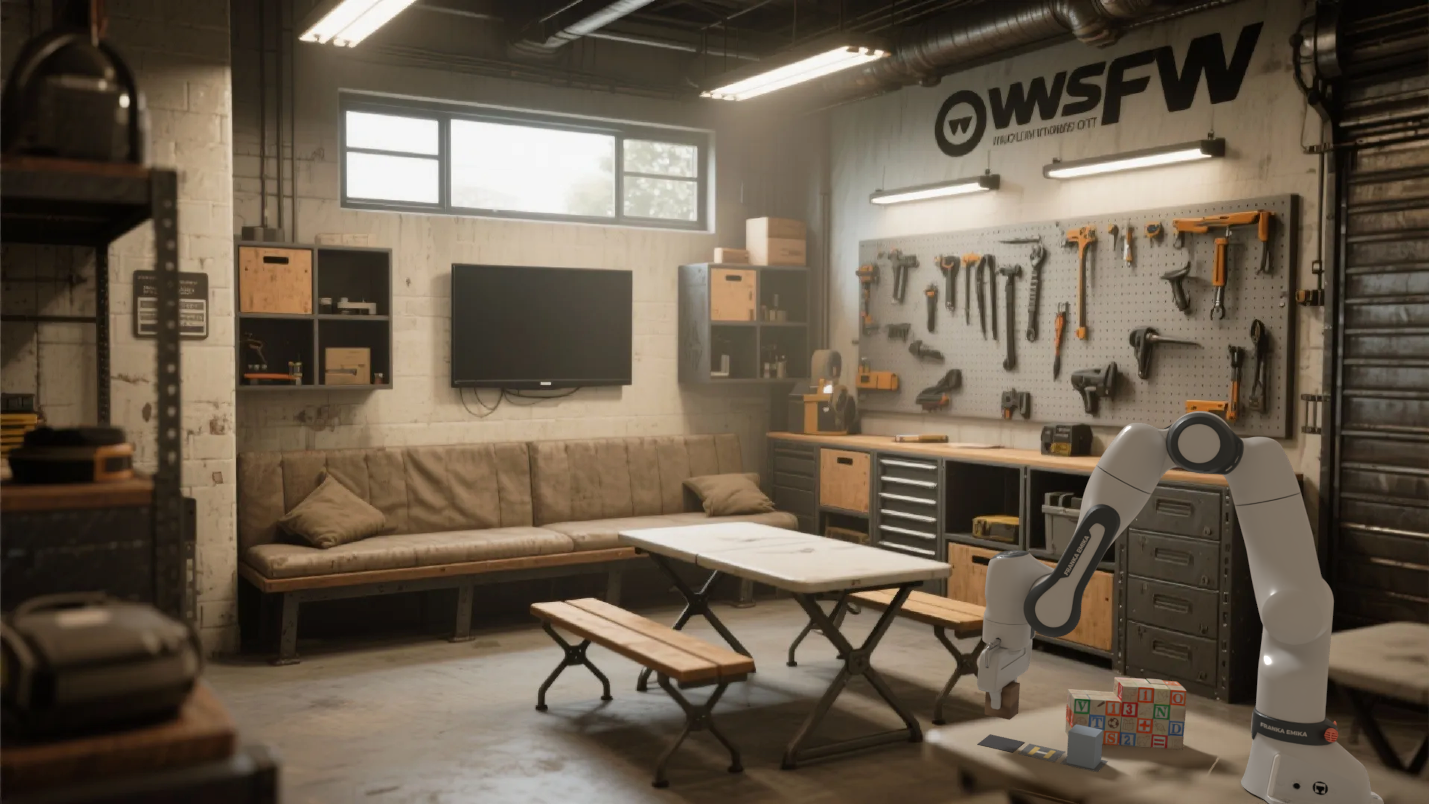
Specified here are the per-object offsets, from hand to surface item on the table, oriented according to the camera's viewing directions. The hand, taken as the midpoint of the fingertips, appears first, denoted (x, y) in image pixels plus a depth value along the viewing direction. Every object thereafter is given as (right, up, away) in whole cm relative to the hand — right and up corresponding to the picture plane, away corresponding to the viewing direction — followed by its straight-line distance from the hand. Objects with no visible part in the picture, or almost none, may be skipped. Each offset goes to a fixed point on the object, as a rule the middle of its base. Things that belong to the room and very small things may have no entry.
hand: (1002, 703), depth 228 cm
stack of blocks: (+25, -9, +5) cm, 27 cm away
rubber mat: (0, -8, 0) cm, 8 cm away
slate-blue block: (+13, -9, -8) cm, 18 cm away
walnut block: (0, -2, 0) cm, 2 cm away
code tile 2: (+13, -9, -8) cm, 18 cm away
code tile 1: (+7, -9, -4) cm, 11 cm away
